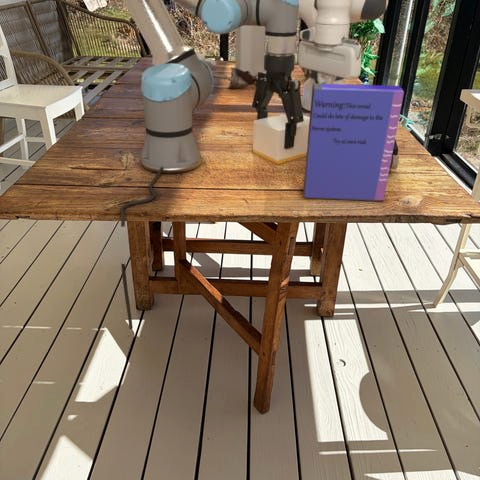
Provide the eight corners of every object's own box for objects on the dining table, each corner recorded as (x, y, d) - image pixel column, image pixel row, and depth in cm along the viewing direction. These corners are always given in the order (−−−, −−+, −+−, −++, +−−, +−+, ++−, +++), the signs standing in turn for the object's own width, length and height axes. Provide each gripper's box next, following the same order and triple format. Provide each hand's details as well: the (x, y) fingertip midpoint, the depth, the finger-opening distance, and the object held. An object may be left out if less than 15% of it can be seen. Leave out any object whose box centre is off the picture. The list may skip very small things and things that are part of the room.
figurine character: (396, 183, 117) (389, 155, 129) (402, 156, 112) (395, 129, 124) (368, 182, 118) (364, 154, 129) (373, 154, 113) (368, 127, 125)
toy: (171, 74, 211) (170, 58, 208) (148, 64, 229) (146, 49, 225) (218, 68, 223) (218, 53, 219) (192, 59, 240) (192, 44, 237)
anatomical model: (311, 84, 215) (310, 84, 201) (297, 70, 214) (296, 70, 200) (331, 62, 211) (332, 61, 197) (317, 48, 210) (317, 46, 196)
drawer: (316, 133, 142) (318, 110, 138) (338, 142, 136) (341, 118, 132) (266, 146, 132) (267, 121, 129) (288, 156, 126) (290, 130, 122)
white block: (273, 76, 210) (276, 6, 196) (239, 77, 209) (240, 6, 194) (266, 67, 226) (268, 2, 212) (235, 67, 225) (235, 1, 210)
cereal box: (379, 191, 109) (398, 84, 97) (383, 201, 105) (404, 90, 93) (303, 188, 110) (312, 82, 98) (304, 197, 106) (314, 88, 94)
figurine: (210, 87, 179) (288, 95, 182) (212, 65, 176) (291, 73, 180) (208, 84, 201) (278, 91, 205) (210, 64, 198) (280, 71, 202)
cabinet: (292, 142, 138) (294, 111, 134) (317, 152, 131) (320, 121, 127) (252, 152, 131) (253, 120, 126) (277, 163, 124) (278, 130, 119)
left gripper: (324, 59, 110) (315, 151, 121) (262, 45, 125) (259, 127, 137) (300, 63, 106) (293, 157, 117) (239, 48, 121) (238, 132, 133)
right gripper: (370, 39, 117) (362, 96, 124) (312, 29, 131) (308, 81, 138) (353, 41, 114) (345, 100, 121) (295, 31, 128) (292, 84, 135)
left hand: (275, 141), depth 127 cm, fingers closed on cabinet, 10 cm apart
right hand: (325, 89), depth 130 cm, fingers closed
